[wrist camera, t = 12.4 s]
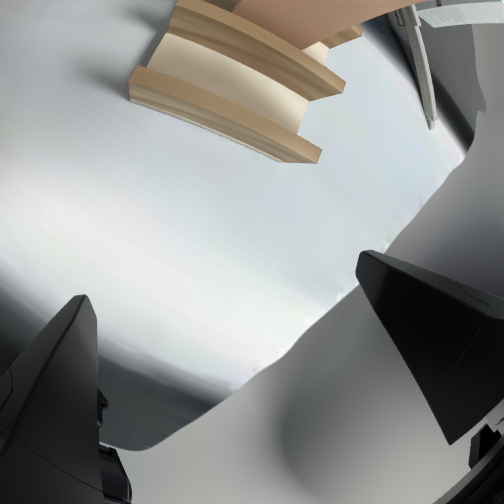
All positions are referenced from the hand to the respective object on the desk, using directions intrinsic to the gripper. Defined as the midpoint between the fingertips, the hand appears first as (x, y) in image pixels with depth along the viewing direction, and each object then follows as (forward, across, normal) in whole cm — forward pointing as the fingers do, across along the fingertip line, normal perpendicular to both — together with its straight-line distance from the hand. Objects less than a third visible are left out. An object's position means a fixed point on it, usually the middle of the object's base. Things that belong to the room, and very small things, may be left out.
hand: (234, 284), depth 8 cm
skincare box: (+22, -32, -25) cm, 46 cm away
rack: (+16, -5, -11) cm, 20 cm away
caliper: (+19, -25, -14) cm, 34 cm away
